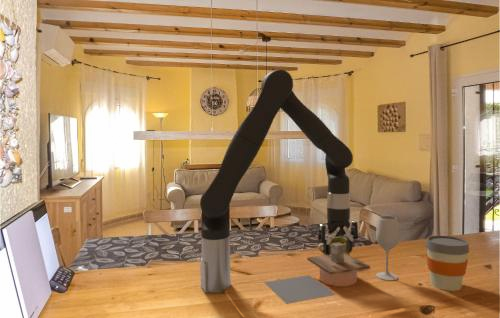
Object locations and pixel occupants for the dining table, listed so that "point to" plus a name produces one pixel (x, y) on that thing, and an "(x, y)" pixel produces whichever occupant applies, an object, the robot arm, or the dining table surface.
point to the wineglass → (387, 241)
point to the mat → (299, 289)
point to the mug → (335, 240)
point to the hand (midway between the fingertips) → (338, 253)
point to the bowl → (339, 278)
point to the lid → (338, 261)
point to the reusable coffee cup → (447, 261)
